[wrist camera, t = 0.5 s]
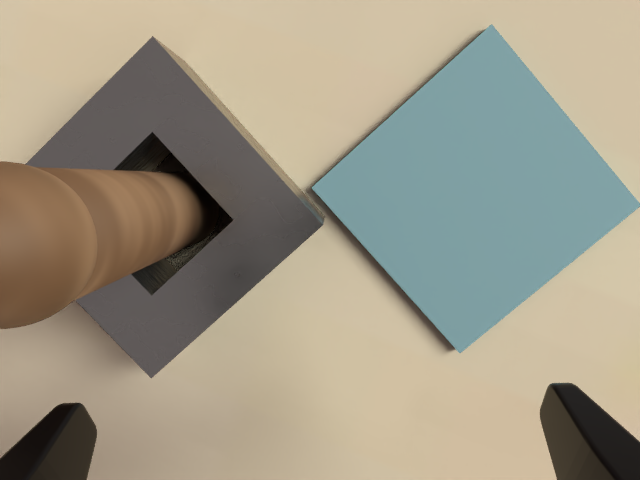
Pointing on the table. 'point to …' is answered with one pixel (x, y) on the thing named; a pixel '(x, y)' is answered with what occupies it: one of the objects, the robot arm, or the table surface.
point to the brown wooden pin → (88, 231)
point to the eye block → (211, 172)
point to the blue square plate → (476, 191)
